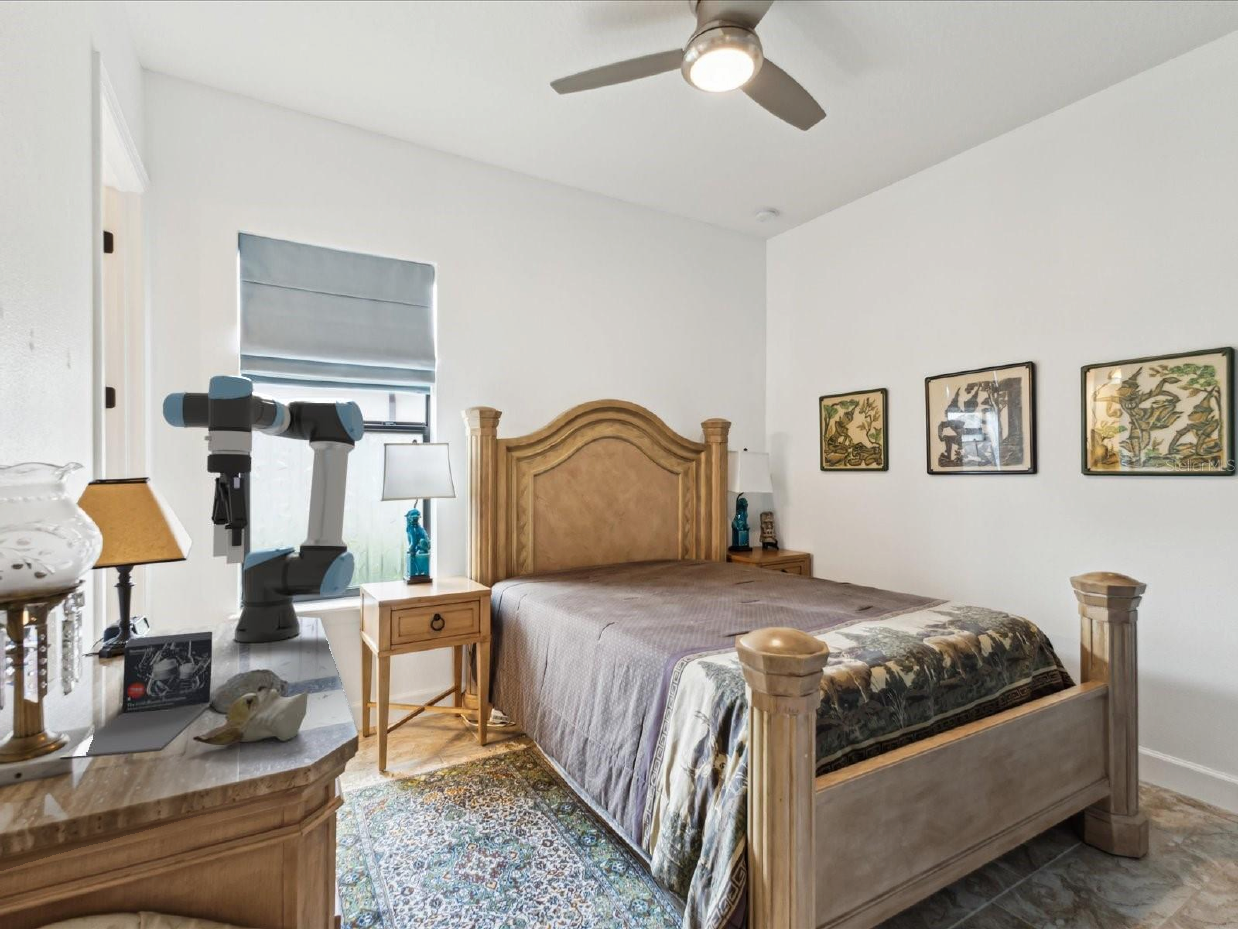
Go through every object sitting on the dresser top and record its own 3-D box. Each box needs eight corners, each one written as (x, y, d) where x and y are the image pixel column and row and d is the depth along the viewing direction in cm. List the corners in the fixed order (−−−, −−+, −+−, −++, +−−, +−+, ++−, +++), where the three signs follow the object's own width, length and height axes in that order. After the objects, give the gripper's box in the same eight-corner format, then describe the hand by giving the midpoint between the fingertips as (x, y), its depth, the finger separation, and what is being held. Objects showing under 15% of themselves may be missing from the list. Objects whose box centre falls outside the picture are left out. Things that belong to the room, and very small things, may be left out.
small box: (120, 716, 109) (122, 646, 110) (125, 704, 115) (127, 638, 116) (210, 702, 117) (212, 637, 117) (210, 692, 122) (212, 630, 123)
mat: (122, 715, 110) (122, 713, 110) (206, 708, 113) (206, 707, 113) (60, 758, 92) (60, 756, 92) (161, 749, 96) (161, 747, 96)
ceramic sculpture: (292, 693, 96) (188, 701, 94) (294, 750, 95) (190, 760, 94) (319, 672, 106) (226, 680, 105) (321, 724, 106) (228, 732, 105)
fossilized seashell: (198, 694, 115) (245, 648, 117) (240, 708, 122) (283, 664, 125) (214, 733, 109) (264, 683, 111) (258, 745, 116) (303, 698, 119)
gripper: (196, 454, 133) (194, 554, 132) (220, 451, 114) (218, 568, 114) (237, 455, 138) (235, 552, 137) (266, 452, 119) (264, 564, 119)
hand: (227, 559), depth 125 cm, fingers open, 13 cm apart
